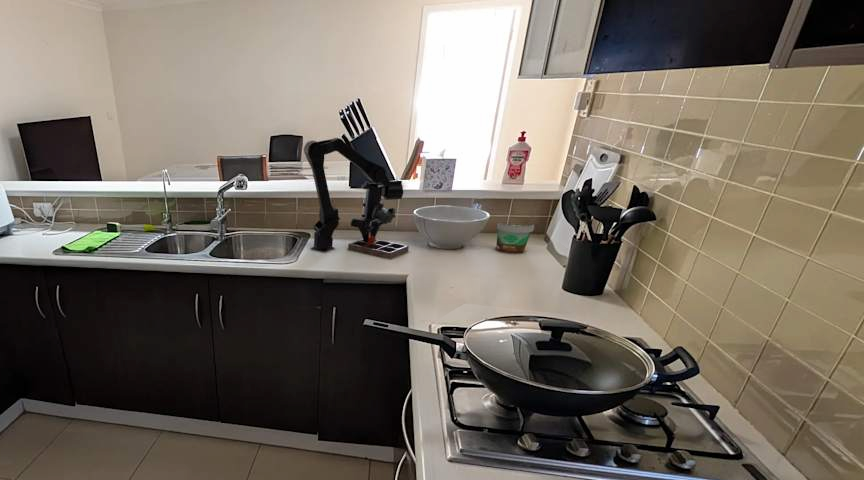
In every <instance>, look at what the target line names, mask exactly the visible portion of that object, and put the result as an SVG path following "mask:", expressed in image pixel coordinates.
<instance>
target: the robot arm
mask: <svg viewBox="0 0 864 480" xmlns="http://www.w3.org/2000/svg"><path fill="white" fill-rule="evenodd" d="M335 152H337V153H338V154H340V155H341V156H342V157H344V158H345V159H346V160H348V161H349V162H350V163H352V164H353V165H354V166H356V167H357V168H358V169H359V170H360V171H361V173H362V174H363V175H364V176H365V177H366V178H367V180H369V181H371V182H372V183H371V182H368V181H367V180H366V181H365V182H364V183H363V184H362V185H361V186H360V187H361V189H363V190H365V191H366V192H365V200H364V201H365V202H363V203H362V207H364V213H362V214H361V217H360V216H358V217H354V218H353V219H351V220H350V227H354V228H358V230H359V232H360V235H361V237H362V239H364V242H368V239H369V235H372V236H375V238H376V237H377V234H378V232H379V230H380V227H381V226H383V225H387V224H389V223H392V221H393V219H395V218H396V208H394V207H390V208H384V206H385V205H384V202H382V198H383V200H384V201H391V200H401V199H402V198H403V196H404V186H403V180H400V179H396V180H395V179H394V180H389V178H388V176H387V170H386V168H385V167H384V166H382V165H380V164H378V163H376V162H374V161H371V160H369V159H367V158H366V157H364V156H363V155H362V154H361V153H359V152H358V151H357V150H355V149H354V148H353V147H351V146H350V145H349V144H348V143H346V142H345V141H344V140H343V139H342V138H340V137H333V138H331V139H324V140H320V141H318V140H317V141H316V140H308V141H307V142H306V143H305V145H304V147H303V153H304V155H305V158H306V160H307V162H308V164H309V166H310V168H311V171H312V176H313V180H314V185H315V190H316V194H317V198H318V203H319V213H318V215H319V216H318V218H319V219H318V220H317V222H316V223H314V224H313V229H314V231H315V232H314V233H313V246H312V247H311V248H310V249H311V250H314V251H317V252H322V253H325V252H328V251H330V250H331V251H332V250H334V249H335V247H334V246H333V241H334V238H333V234H334V231H335V230H337V228H338V227H339V225H340V221H341V218H340V216H339V209H338V208H337V207H335V205H332V201H331V196H330V192H329V187H328V183H327V182H328V181H327V176H326V172H325V168H324V167H325V166H324V165H325V156H326V155H329V154H331V153H335ZM378 184H379V185H378ZM380 184H381V185H380Z"/></svg>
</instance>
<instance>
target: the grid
mask: <svg viewBox="0 0 864 480" xmlns="http://www.w3.org/2000/svg"><path fill="white" fill-rule="evenodd" d="M409 247H410V245H407V244H402V243H396V242H392V241H388V240H384V239H383V240H382V239H377V238H375V242H373V243H369V242H364V239H363V238H361V239H358V240H356V241H353V242H350V243H348V245H347V250H348V251H352V252H357V253H360V254H365V255H369V256H373V257H374V256H375V257H378V258H383V259H386V260H391V259H393V258H396V257H398V256H401V255H403V254H406V253H409Z"/></svg>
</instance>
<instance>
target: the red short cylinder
mask: <svg viewBox="0 0 864 480" xmlns="http://www.w3.org/2000/svg"><path fill="white" fill-rule="evenodd" d="M375 239H376V237H375V236H372V235H370V234H369V239H368V242H369V243H373V242H375Z"/></svg>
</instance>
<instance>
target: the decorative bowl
mask: <svg viewBox="0 0 864 480" xmlns="http://www.w3.org/2000/svg"><path fill="white" fill-rule="evenodd" d="M489 219H490V214H489V212H487V211H484V210H482V209H479V208H475V207H467V206H459V205H430V206H424V207H423V206H422V207H419V208H417V209H414V211H413V220H414V223H415V226H416V228H417V230H418V232H419V233H420V236H421V237H423V238H424V239H425V240H426V241H427V242H428V244H429V246H431V247H432V248H437V249H442V250H443V249H444V250H456V249H461V248H462V247H464V244H466V243H468V242H470V241H472V240H473V239H474V238H476V237H477V236H478V235H479V234H480V233H481V232H482V231H483V230H484V228H485V226H486V225H487V224H488V221H489Z"/></svg>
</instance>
